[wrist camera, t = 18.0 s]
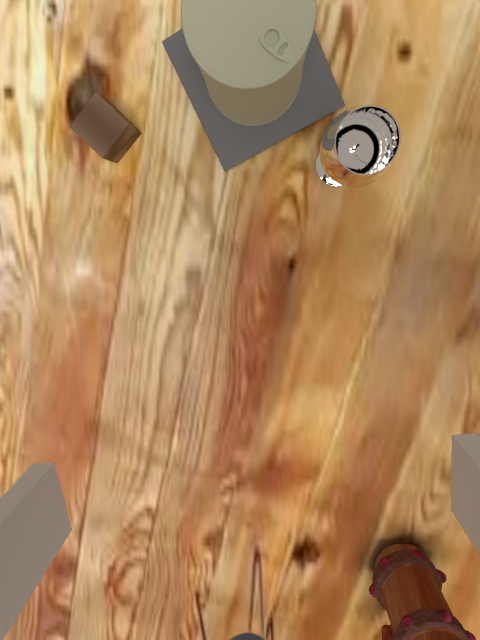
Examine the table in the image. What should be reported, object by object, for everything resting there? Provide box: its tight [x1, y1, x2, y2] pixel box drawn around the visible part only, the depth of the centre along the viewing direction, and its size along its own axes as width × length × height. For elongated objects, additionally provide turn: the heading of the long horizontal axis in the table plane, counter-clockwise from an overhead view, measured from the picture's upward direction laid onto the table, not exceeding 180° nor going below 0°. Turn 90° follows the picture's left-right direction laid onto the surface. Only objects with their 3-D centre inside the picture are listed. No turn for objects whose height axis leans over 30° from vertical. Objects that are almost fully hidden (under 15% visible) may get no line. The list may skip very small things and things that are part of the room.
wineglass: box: [316, 105, 401, 187], centre depth 34 cm, size 6×6×12 cm
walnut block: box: [70, 92, 141, 163], centre depth 39 cm, size 4×4×4 cm
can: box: [181, 0, 316, 126], centre depth 32 cm, size 9×9×12 cm
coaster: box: [162, 29, 345, 172], centre depth 38 cm, size 13×13×1 cm
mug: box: [369, 543, 476, 640], centre depth 45 cm, size 15×8×15 cm, turn 166°
